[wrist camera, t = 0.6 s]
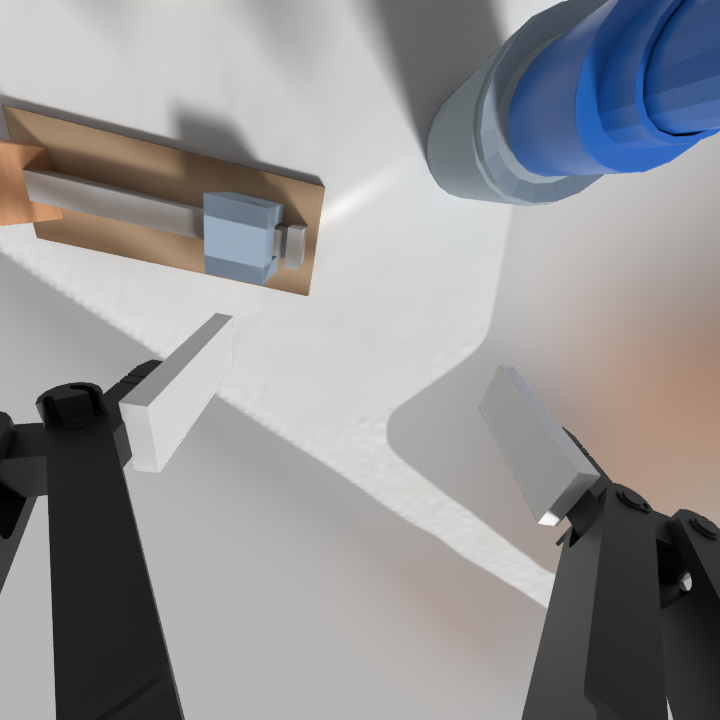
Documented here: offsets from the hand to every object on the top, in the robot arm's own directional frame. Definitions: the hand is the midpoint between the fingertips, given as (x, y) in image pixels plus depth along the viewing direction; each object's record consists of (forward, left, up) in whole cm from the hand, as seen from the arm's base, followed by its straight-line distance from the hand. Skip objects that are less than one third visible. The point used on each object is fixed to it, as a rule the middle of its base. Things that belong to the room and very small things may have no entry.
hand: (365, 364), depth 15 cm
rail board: (-1, -19, -22) cm, 29 cm away
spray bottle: (-13, +8, -22) cm, 27 cm away
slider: (-1, -11, -20) cm, 23 cm away
